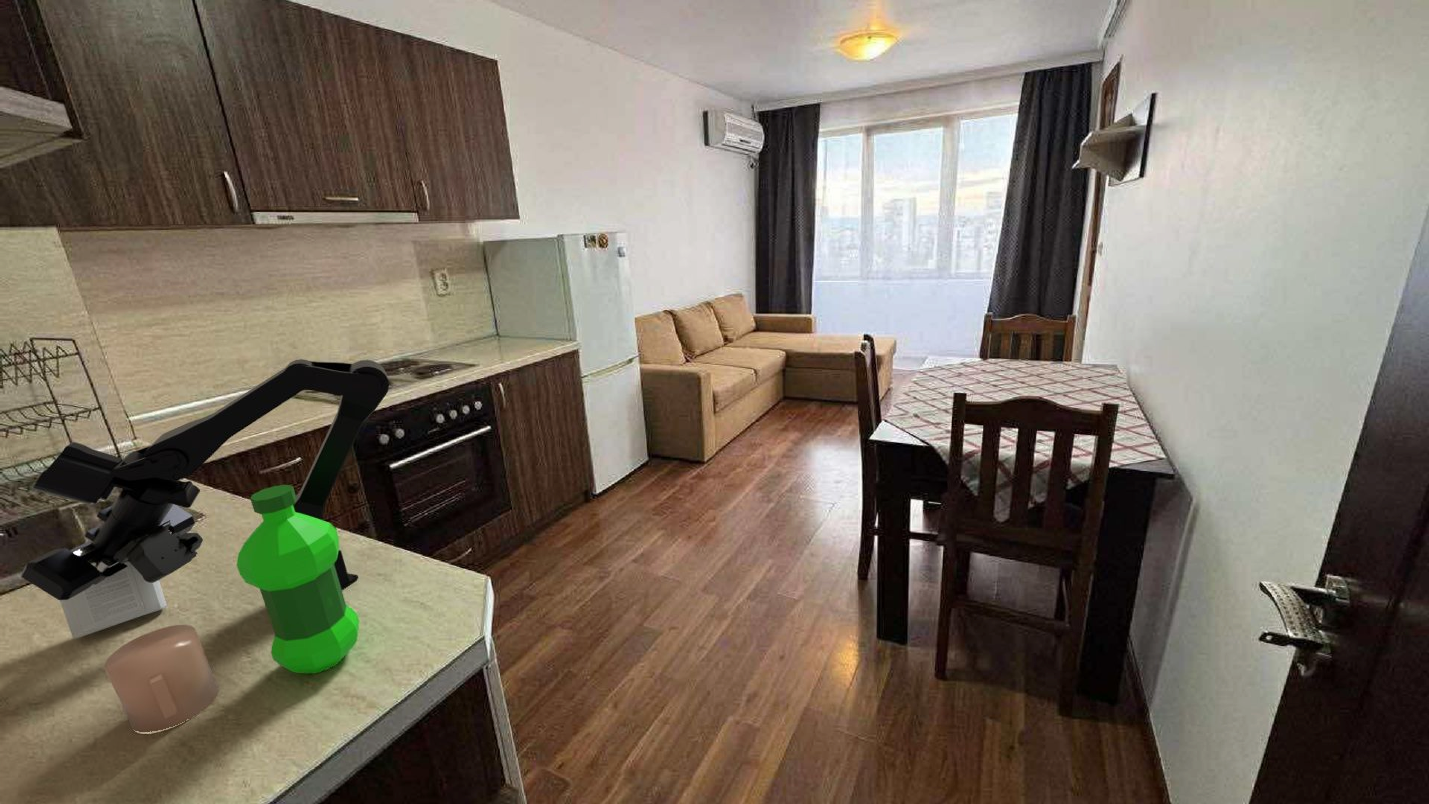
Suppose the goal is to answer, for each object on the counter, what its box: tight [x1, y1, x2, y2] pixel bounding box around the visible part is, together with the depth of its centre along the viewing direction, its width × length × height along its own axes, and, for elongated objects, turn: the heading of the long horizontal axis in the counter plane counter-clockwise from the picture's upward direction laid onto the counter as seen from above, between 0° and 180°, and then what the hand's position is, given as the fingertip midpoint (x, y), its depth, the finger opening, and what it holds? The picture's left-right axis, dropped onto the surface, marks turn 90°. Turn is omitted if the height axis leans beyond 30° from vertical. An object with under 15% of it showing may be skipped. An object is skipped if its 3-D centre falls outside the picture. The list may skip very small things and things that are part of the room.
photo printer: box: [59, 562, 167, 639], centre depth 87 cm, size 10×4×12 cm, turn 134°
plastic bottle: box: [236, 484, 360, 675], centre depth 74 cm, size 10×10×25 cm
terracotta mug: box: [103, 624, 219, 732], centre depth 69 cm, size 9×8×9 cm
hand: (94, 581), depth 84 cm, fingers closed
